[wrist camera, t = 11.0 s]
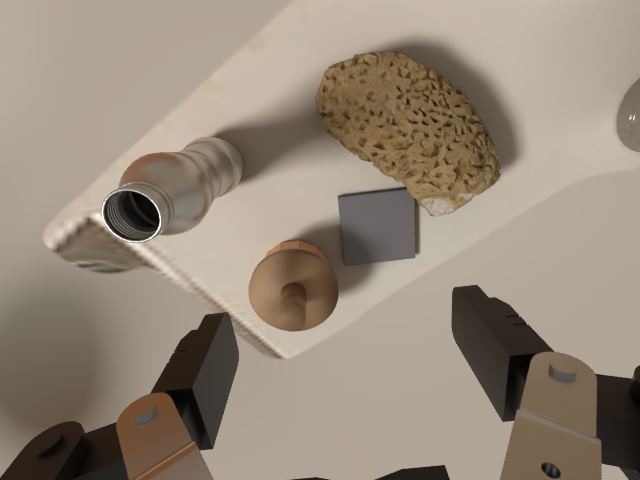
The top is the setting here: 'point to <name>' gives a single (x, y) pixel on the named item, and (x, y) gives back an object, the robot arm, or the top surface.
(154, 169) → the plastic bottle
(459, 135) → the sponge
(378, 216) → the mat
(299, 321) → the lid
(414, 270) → the top surface
